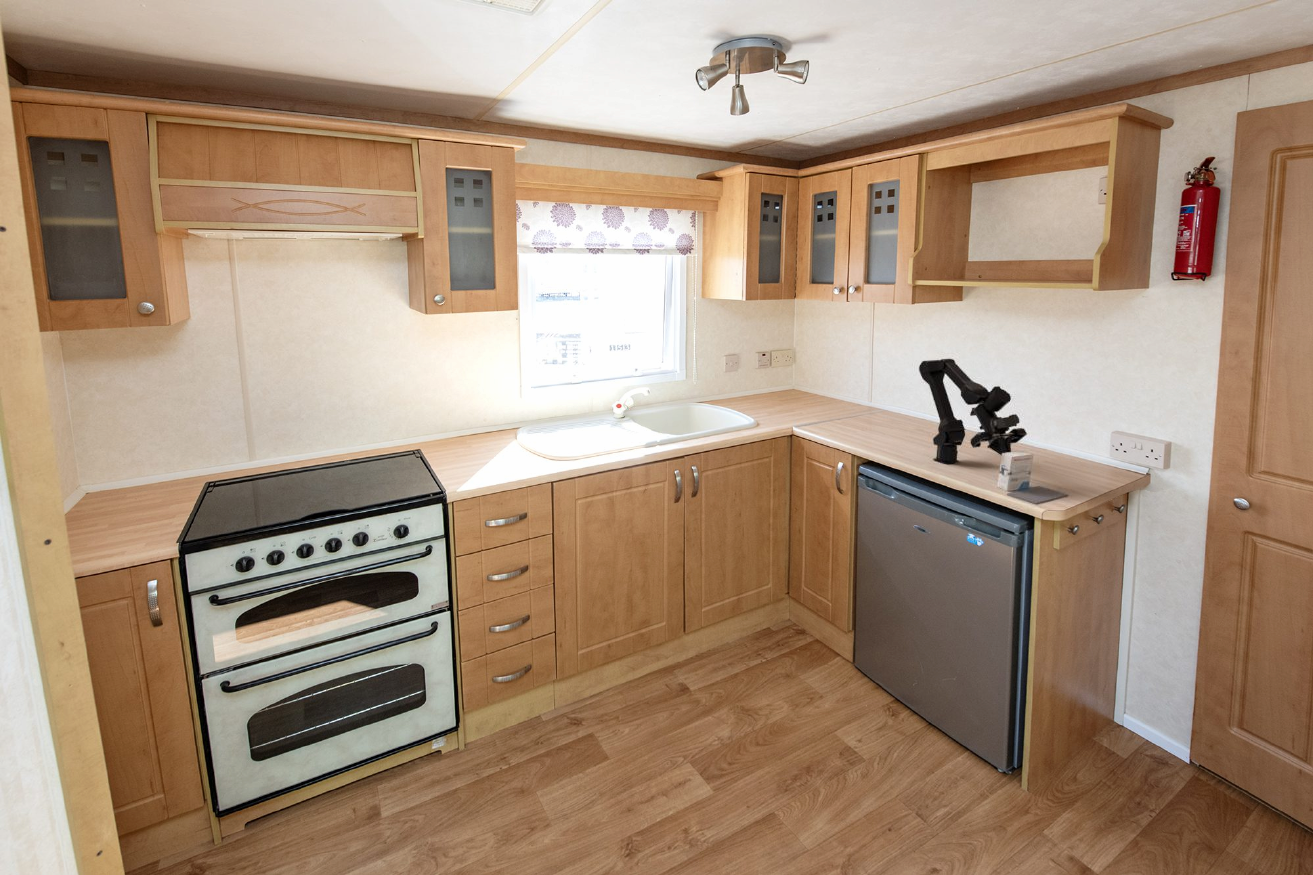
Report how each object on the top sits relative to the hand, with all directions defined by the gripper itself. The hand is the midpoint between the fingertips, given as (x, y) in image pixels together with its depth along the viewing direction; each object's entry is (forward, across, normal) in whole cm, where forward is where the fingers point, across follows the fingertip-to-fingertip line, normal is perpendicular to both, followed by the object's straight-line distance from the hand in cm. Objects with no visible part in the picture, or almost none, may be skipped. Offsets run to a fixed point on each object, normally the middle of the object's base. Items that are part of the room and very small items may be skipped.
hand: (1010, 459), depth 237 cm
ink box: (+8, 0, +5) cm, 9 cm away
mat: (+14, +2, -1) cm, 14 cm away
